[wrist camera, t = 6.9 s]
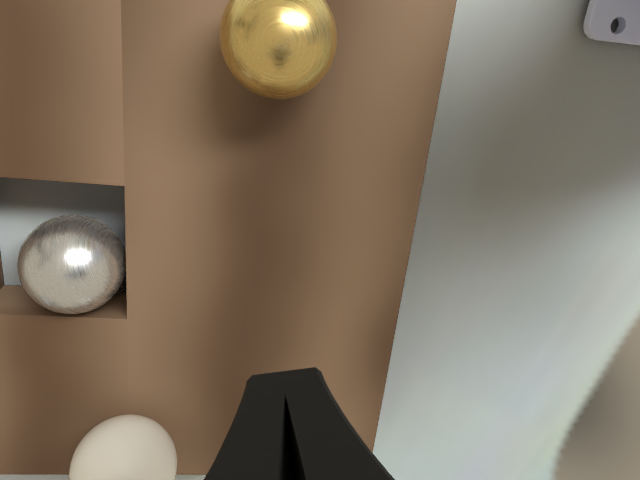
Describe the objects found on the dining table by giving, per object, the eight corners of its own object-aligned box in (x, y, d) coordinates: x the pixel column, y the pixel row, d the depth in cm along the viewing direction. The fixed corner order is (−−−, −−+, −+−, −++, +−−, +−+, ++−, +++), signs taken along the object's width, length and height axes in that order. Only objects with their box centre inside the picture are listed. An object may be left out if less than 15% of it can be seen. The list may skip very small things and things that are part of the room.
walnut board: (438, -15, 17) (460, -18, 15) (359, 439, 24) (368, 474, 22) (-123, -90, 15) (-177, -105, 13) (-39, 434, 21) (-67, 474, 20)
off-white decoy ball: (183, 394, 20) (170, 466, 16) (181, 468, 21) (169, 548, 18) (83, 392, 19) (50, 466, 16) (87, 468, 20) (57, 550, 17)
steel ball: (54, 229, 20) (137, 214, 19) (63, 318, 19) (149, 304, 19) (-12, 217, 16) (86, 198, 16) (-3, 323, 16) (98, 306, 16)
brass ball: (335, -15, 15) (353, -22, 12) (323, 96, 16) (337, 112, 13) (225, -29, 15) (218, -40, 12) (220, 86, 16) (212, 101, 13)
